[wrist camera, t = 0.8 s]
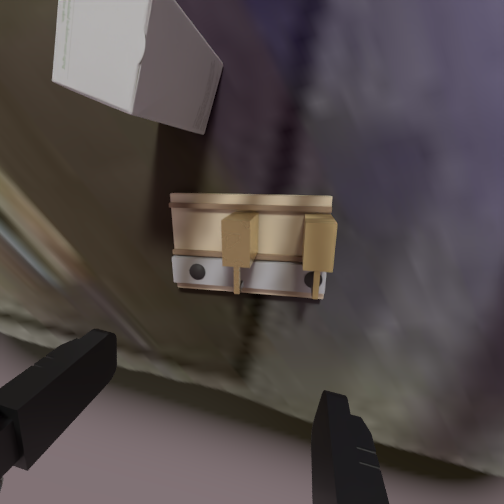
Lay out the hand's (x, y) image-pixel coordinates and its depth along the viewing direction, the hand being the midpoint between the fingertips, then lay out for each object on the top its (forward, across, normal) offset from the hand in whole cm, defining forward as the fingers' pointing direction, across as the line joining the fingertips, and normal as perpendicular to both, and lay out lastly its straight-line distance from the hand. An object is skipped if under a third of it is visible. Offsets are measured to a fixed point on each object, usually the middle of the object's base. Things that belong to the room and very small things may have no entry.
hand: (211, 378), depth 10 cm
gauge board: (+26, +3, +2) cm, 26 cm away
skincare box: (+26, +13, -14) cm, 33 cm away
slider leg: (+24, +3, +2) cm, 25 cm away
